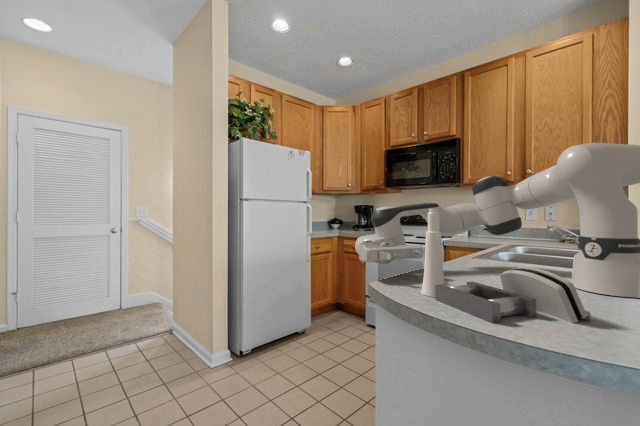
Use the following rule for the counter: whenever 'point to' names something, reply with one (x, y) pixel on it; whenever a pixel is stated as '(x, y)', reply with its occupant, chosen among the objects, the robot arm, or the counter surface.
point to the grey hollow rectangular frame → (485, 301)
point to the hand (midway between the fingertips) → (405, 256)
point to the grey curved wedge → (546, 292)
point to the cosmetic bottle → (433, 256)
